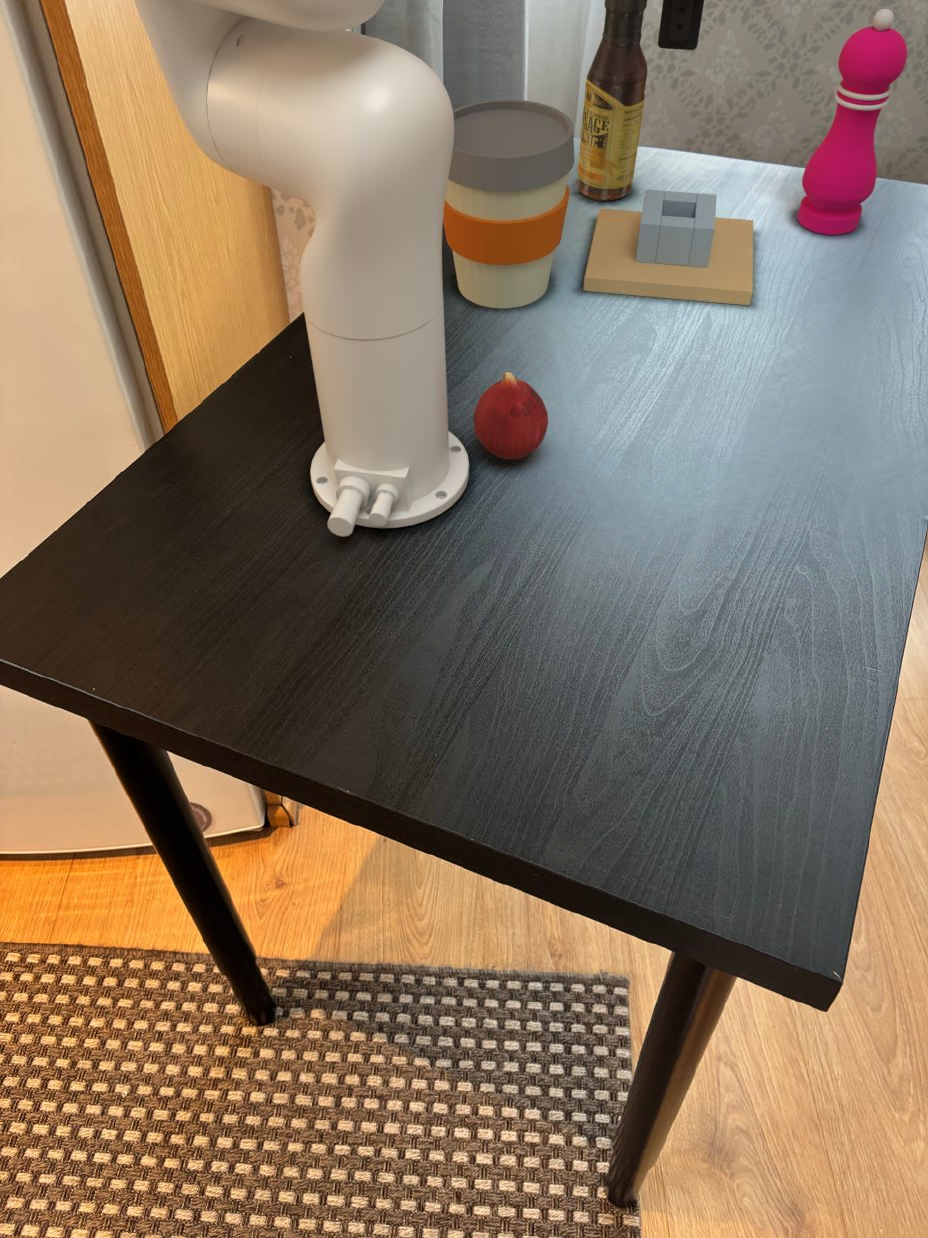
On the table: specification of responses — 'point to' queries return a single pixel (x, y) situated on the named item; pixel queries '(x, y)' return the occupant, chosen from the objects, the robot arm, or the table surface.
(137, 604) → the table surface
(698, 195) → the gray block
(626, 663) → the table surface
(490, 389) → the onion
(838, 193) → the pepper mill
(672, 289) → the base pad
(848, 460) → the table surface
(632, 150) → the sauce bottle
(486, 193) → the reusable coffee cup
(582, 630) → the table surface
